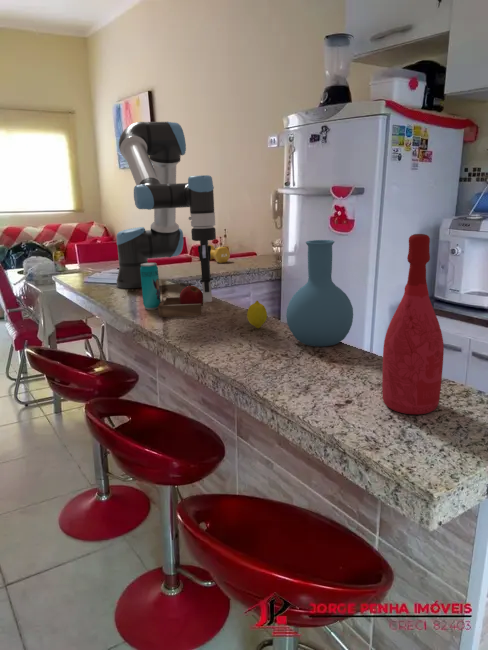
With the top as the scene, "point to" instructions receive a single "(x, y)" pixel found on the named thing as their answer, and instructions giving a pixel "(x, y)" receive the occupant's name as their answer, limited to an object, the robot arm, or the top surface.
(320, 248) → the vase
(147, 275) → the beverage can
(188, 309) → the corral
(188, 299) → the apple
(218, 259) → the dumbbell
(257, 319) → the fruit
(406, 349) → the wine bottle
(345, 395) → the top surface
